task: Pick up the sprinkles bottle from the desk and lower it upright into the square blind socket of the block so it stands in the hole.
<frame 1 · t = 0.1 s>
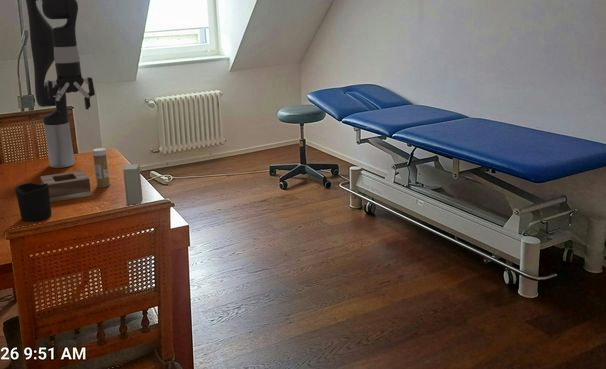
hand: (73, 110, 208), 29 cm above the table, tool pointing down, fingers open, 8 cm apart
skincare box: (135, 202, 208), on the table
pen holder: (36, 217, 196), on the table
sprinkles bottle: (103, 186, 226), on the table
socket block: (66, 194, 217), on the table
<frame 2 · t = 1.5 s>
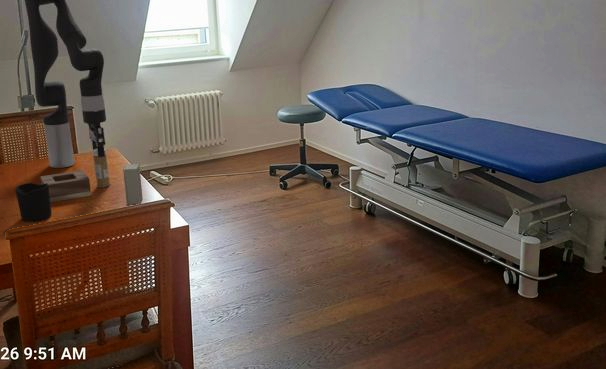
hand: (99, 154, 222), 12 cm above the table, tool pointing down, fingers open, 8 cm apart
nothing on the table moved.
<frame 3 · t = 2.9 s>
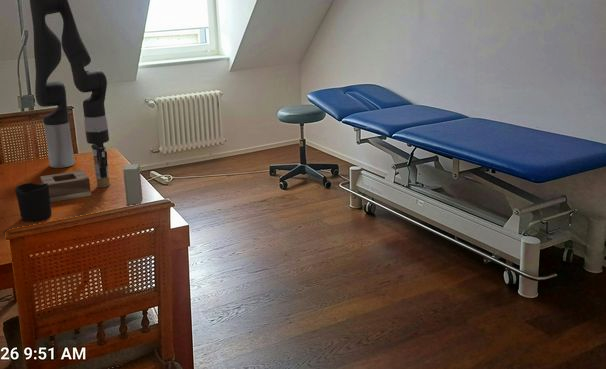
hand: (102, 175, 224), 4 cm above the table, tool pointing down, fingers closed on sprinkles bottle, 4 cm apart
sprinkles bottle: (103, 186, 226), on the table, touching gripper
everything else where it was.
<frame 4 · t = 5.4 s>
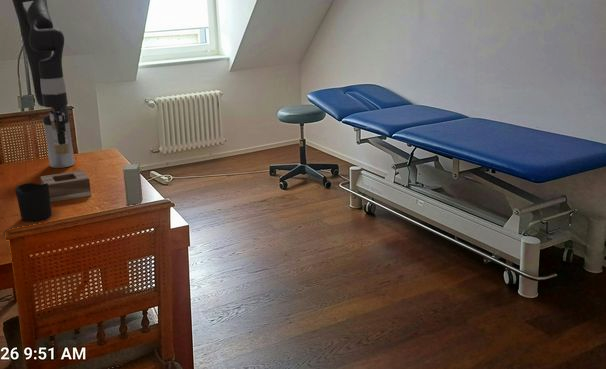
hand: (60, 142, 212), 18 cm above the table, tool pointing down, fingers closed on sprinkles bottle, 4 cm apart
sprinkles bottle: (62, 153, 213), point 14 cm above the table, touching gripper
everything else where it was.
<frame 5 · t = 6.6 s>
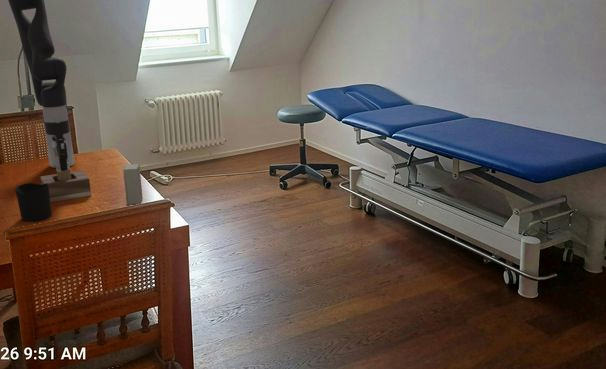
hand: (63, 168, 214), 9 cm above the table, tool pointing down, fingers closed on sprinkles bottle, 4 cm apart
sprinkles bottle: (64, 179, 216), point 5 cm above the table, touching gripper
everything else where it was.
when the fingers open (7 cm above the table, at t = 7.4 s): sprinkles bottle drops 1 cm, resting on socket block.
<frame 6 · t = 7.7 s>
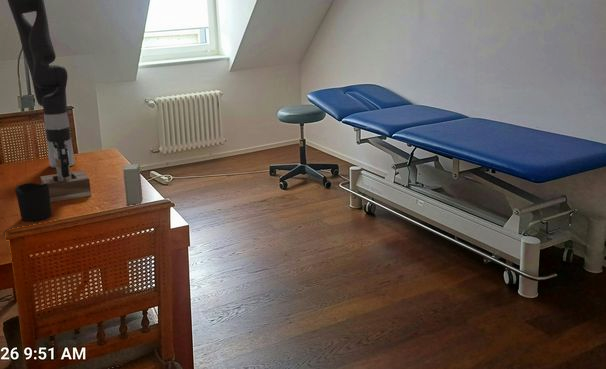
hand: (64, 174, 215), 7 cm above the table, tool pointing down, fingers open, 6 cm apart
sprinkles bottle: (66, 190, 217), point 1 cm above the table, touching socket block
everything else where it was.
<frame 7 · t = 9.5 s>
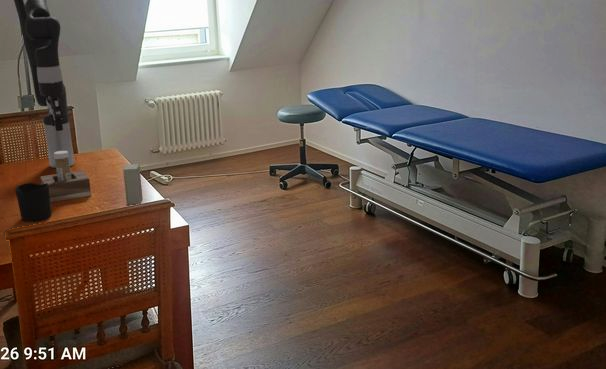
hand: (57, 128, 213), 23 cm above the table, tool pointing down, fingers open, 8 cm apart
nothing on the table moved.
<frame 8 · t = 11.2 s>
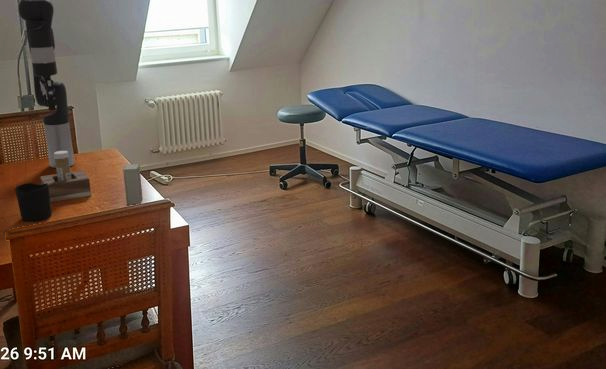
hand: (50, 108, 218), 28 cm above the table, tool pointing down, fingers open, 8 cm apart
nothing on the table moved.
at the end: sprinkles bottle 0.2 cm off-centre on the socket block, point 1.3 cm above the socket block's base; sprinkles bottle tilted 0°; the gripper is holding nothing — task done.
